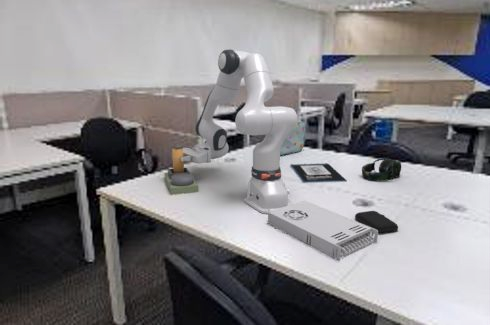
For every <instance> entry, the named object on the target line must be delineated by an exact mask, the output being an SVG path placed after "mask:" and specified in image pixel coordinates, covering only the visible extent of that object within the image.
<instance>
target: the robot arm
mask: <svg viewBox="0 0 490 325" xmlns="http://www.w3.org/2000/svg"><path fill="white" fill-rule="evenodd" d="M217 61H218V62H217V65H218V69H219V73H218V76H217V80H216V83H215V87H214V89H213V90H211V91H210V92H209V94H208V96H207V98H206V101H205V103H204V107H203V109H202V112H201V115H200V117H199V118H198V121H196V124H195V133H196V135H198V136H199V137H200V138H202V139H204V140H206V141H205V142H204V143H200V144H199V143H198V144H195V145H193V147H192V148H189V147H183V157H180V158H179V160H180V161H184V162H187V161H188V162H191V163H194V164H205V163H206V164H209V163H211V162H212V160H216V159H219V158H222V157H224V156H226V155H227V154H228V152H229V148H230V147H229V144H228V142H227V139H228V133H227V130H226V129H224V128H223V127H222V126H220V125H218V124H217V123H216V122H214V119H213V118H214V115H215V112H216V111H217V110H216V109H217V107H218V106H219V105H220V104H230V103H232V102H234V101H235V100H236V99H237V97H238V94H239V91H240V87H241V83H242V79H243V81H244V85H245V90H246V101H245V104H244V106H243V107H242V108H241V109H240V110H239V111H237V113H236V116H235V120H234V124H235V128H236V130H237V131H238V132H239V133H240V135H247V136H263V135H265V137H264V138H263V140H262V141H261V142H259V143H257V144H256V145H255V146H254V147H253V149H252V166H251V178H250V179H249V181H248V185H247V194H246V196H247V197H245V198H244V200H243V202H244V203H246V204H247V205H248V206H250V207H252V208H253V209H254V210H256V211H258V212H259V213H261V214H267V215H268V212H269V211H272V210H276V209H279V208H282V207H285V206H289V205H292V204H293V203H292V202H291V200H290V199H289V195H290V189H289V188H286V183H284V181H283V179H282V170H281V167H280V165H281V164H280V162H281V155H280V152H281V147H282V145H283V142H284V140H285V139H286V137H287V136H288V135H289V134H290V133H291V132H292V131H293V130H294V129H295V128H296V126H297V123H298V120H299V118H298V114H297V112H296V110H295V109H294V108H292V107H288V106H283V105H282V106H281V105H280V106H278V105H277V106H265V104H264V103H267V102H268V101H269V100H270V99H272V97H273V96H274V91H275V89H274V85H273V81H272V76H271V72H270V69H269V66H268V63H267V62H266V59H265V57H264V56H263V55H261V54H260V53H256V52H253V53H251V52H248V51H244V50H234V49H224V50H222V52H221V53H220V54H219V56H218V59H217ZM171 158H172V159H173V154H171Z"/></svg>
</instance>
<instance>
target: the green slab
mask: <svg viewBox="0 0 490 325" xmlns="http://www.w3.org/2000/svg"><path fill="white" fill-rule="evenodd" d="M194 176H195V175H194V174H192V173H191V171H190V170H189V169H188V168H187V167H184V173H173V168H168V169H167V172H164V180H165V182H167V183H166V185H167V187H169V188H168V189H169V192H170V194H171V196H173V194H174V195H183V194H182V193H184V194H191V193H192V194H193V193H199V184H198V182H197V181H196V180H195V178H194Z"/></svg>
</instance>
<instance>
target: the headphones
mask: <svg viewBox="0 0 490 325" xmlns="http://www.w3.org/2000/svg"><path fill="white" fill-rule="evenodd" d="M379 161H381V162H380V163H379V166H378V172H377V171H376V167H375V166H376V162H379ZM373 171H374V172H373ZM401 171H402V162H400V161H399V160H396V159H392V158H389V157H383V158H377V159H376V160H375V161H373V162H371V163H366V164H364V165H363V166H362V167H361V174H362V177H363V179H364V180H368V181H373V182H378V181H379V182H380V181H381V182H382V181H389V180H390V181H391V180H393V179H396V178H399V177H400V175H401ZM392 178H393V179H392Z"/></svg>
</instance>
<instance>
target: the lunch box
mask: <svg viewBox="0 0 490 325" xmlns="http://www.w3.org/2000/svg"><path fill="white" fill-rule="evenodd" d="M306 128H307V127H306V123H305V122H304V121H302V120H299V119H298V123H297V126H296V128H295V129H294V130H293V131H292V132H291V133H290V134H289V135H288V136H287V137H286V139H285V140H284V142H283V145H282V147H281V152H280V156H284V155H292V154H294V153H299V152H301V151H302V150H303V148H304V147H305V141H306V131H307V130H306Z"/></svg>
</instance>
